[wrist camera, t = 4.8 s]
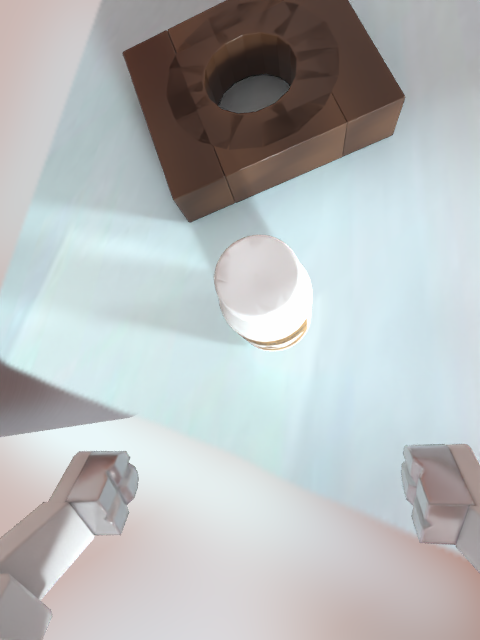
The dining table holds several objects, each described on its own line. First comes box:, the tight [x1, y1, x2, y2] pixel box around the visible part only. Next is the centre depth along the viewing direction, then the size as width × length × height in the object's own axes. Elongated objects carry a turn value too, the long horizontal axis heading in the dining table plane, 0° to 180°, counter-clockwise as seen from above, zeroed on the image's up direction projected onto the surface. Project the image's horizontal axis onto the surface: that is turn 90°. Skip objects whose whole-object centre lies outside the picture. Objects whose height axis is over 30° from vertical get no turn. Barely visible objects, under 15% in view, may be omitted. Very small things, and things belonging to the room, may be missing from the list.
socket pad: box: [123, 0, 405, 222], centre depth 23 cm, size 14×12×3 cm
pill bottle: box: [214, 235, 313, 351], centre depth 17 cm, size 4×4×8 cm
